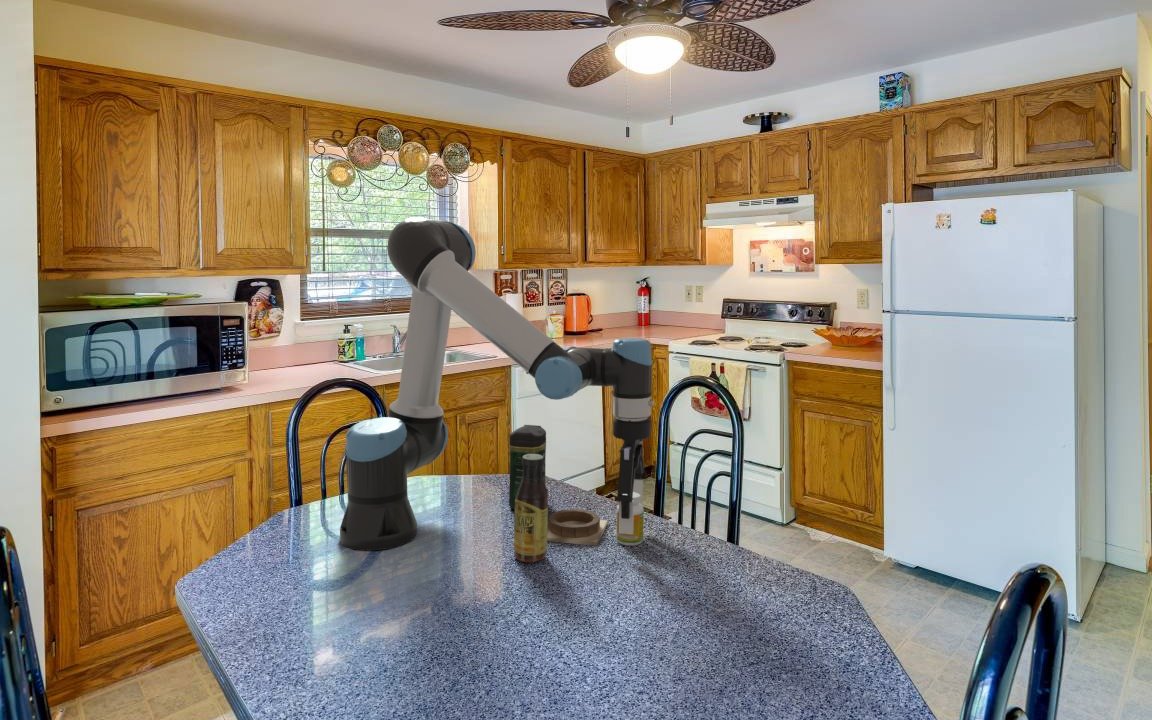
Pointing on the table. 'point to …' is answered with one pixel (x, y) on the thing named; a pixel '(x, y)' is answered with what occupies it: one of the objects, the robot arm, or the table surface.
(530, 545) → the sauce bottle
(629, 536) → the supplement bottle
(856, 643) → the table surface
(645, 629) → the table surface
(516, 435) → the coffee jar
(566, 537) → the collar
